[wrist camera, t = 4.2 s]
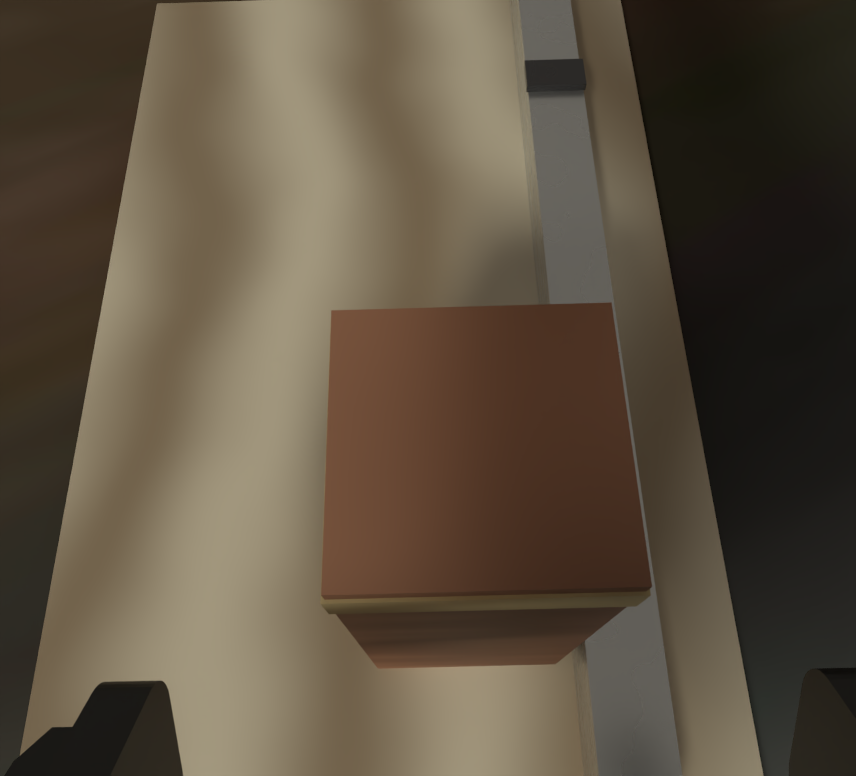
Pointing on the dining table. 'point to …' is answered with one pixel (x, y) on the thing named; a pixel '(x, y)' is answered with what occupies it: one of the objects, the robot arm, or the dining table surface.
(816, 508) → the dining table surface
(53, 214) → the dining table surface
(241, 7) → the board
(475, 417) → the brown squarish block
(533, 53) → the rail
